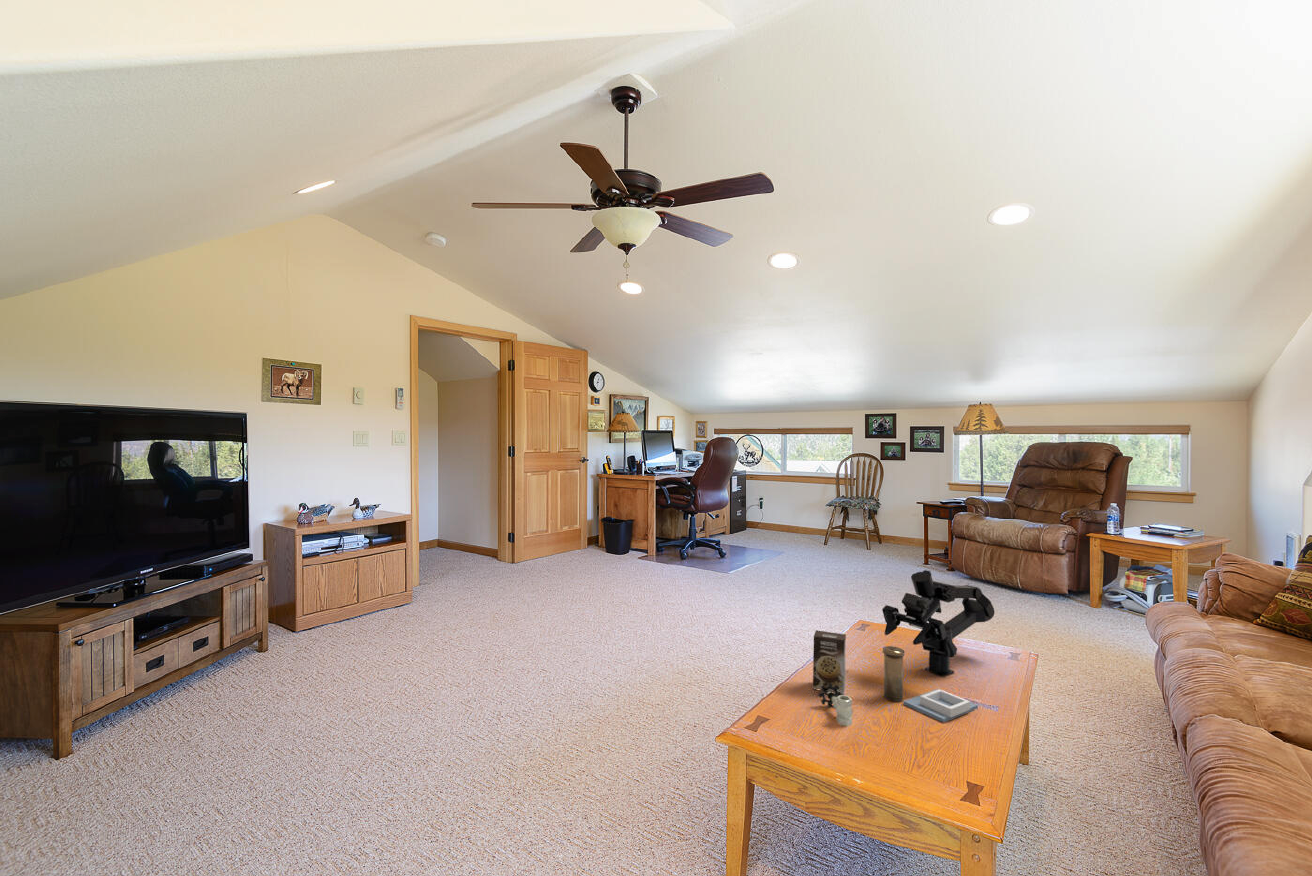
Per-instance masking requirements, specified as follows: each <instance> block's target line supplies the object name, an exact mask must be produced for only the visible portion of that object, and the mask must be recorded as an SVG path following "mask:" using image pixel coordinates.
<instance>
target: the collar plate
mask: <svg viewBox="0 0 1312 876" xmlns="http://www.w3.org/2000/svg"><path fill="white" fill-rule="evenodd" d="M902 702H903V703H902V704H903V706H905V707H907V708H910V709H912V710H915V711H916V712H919V713H921V714H923V715H926V716H928V717H930V718H932V719H934V720H936V721H938V722H941V723H943V724H944V723H947V722H949V721H951V720H954V719H957V718H958V717H961V716H964V715H966V714H968V713H971V712H973V711H976V710H978V709H979V705H978V704H976V703H975V702H971V701H970V700H967V699H965V698H962V697H960V696H958V695H955V694H954V693H953V694H952V693H950V692H947V691H945V690H942V689H940V688H936V689H933V690H931V691H927V692H925V693H923V694H919V695H916V696H914V697H910V698H907V699H905V700H903V701H902ZM977 708H978V709H977ZM975 709H976V710H975Z"/></svg>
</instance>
